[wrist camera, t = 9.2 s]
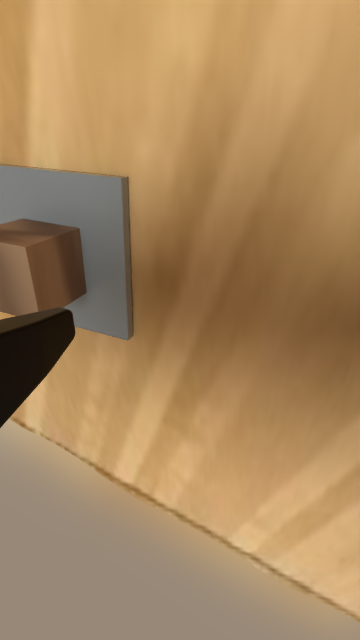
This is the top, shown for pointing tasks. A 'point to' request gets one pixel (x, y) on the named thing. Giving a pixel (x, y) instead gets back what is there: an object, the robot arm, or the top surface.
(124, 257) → the plate
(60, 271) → the walnut block
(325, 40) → the top surface
